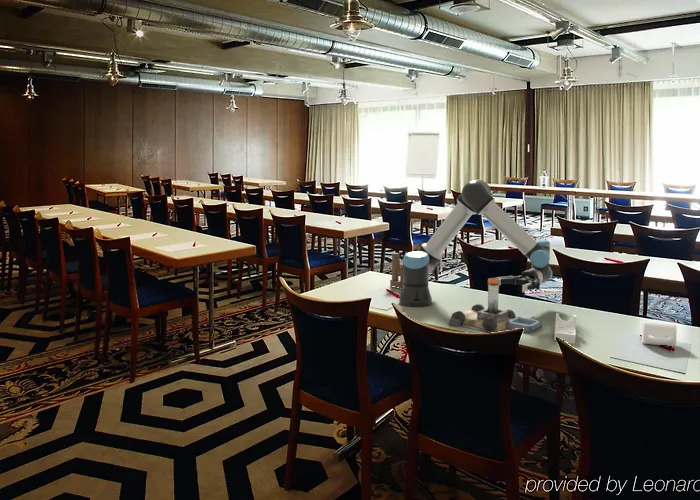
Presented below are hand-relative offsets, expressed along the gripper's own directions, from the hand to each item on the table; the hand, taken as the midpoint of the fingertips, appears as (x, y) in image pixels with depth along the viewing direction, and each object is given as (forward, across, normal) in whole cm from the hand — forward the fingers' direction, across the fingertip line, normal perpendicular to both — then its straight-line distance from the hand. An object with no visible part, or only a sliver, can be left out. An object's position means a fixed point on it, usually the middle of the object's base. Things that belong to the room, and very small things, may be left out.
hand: (507, 286), depth 223 cm
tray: (+6, -10, -14) cm, 18 cm away
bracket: (+7, -27, -15) cm, 32 cm away
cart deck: (+10, +5, -14) cm, 18 cm away
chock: (+21, +12, -14) cm, 28 cm away
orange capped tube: (+10, +1, -12) cm, 16 cm away
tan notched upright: (-18, +70, -14) cm, 73 cm away
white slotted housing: (-5, -55, -15) cm, 57 cm away
